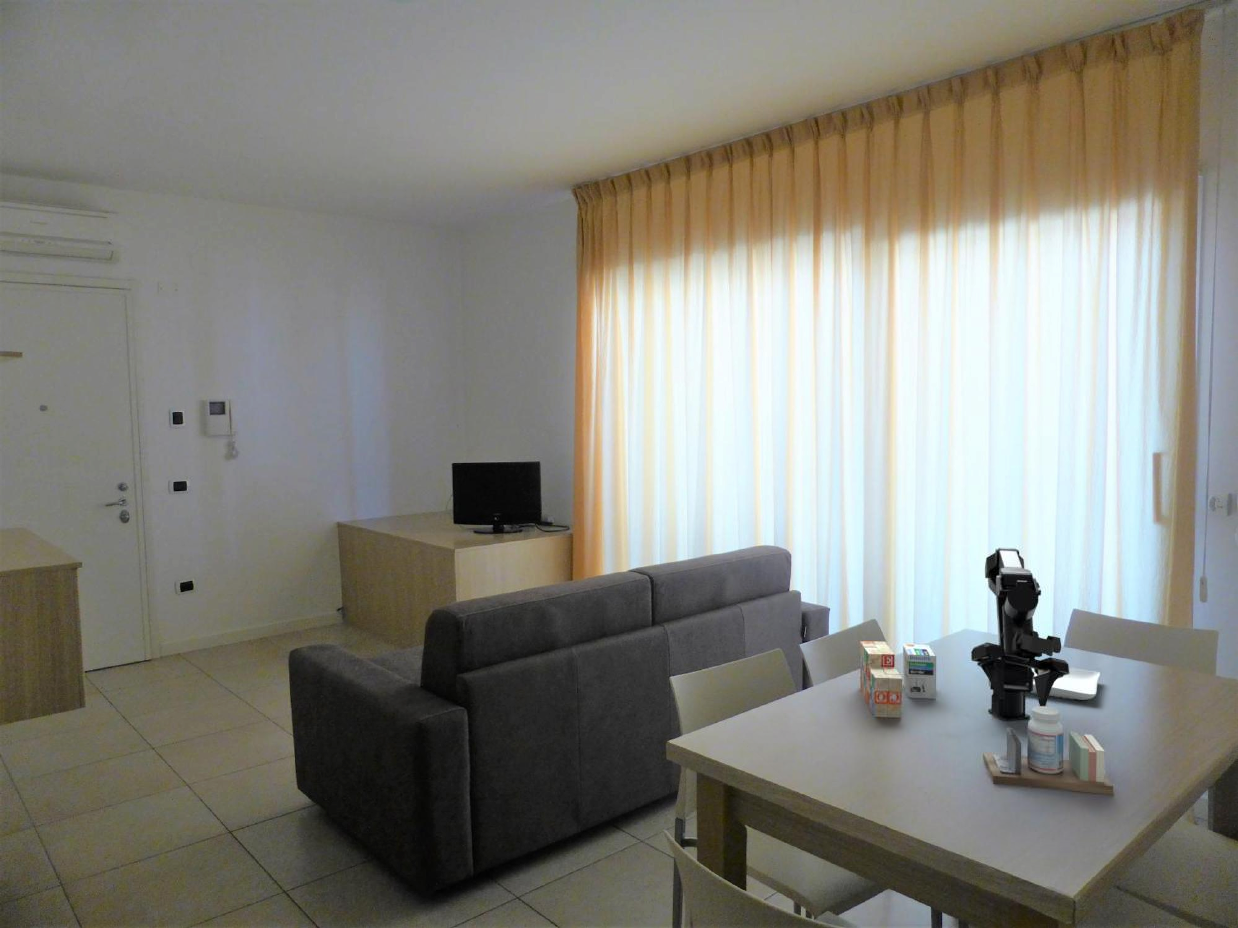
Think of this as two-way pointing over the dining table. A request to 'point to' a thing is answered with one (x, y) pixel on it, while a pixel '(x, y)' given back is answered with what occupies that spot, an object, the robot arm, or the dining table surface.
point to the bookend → (1010, 755)
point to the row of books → (1086, 757)
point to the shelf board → (1045, 778)
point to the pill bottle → (1045, 741)
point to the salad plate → (1074, 685)
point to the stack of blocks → (880, 679)
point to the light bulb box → (919, 671)
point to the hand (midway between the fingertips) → (1022, 702)
